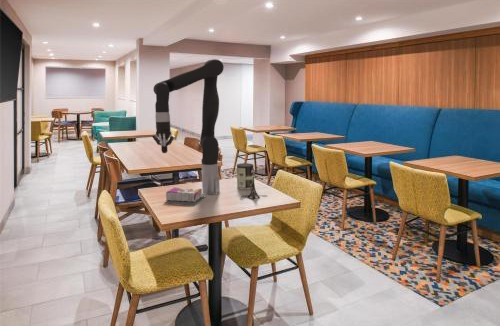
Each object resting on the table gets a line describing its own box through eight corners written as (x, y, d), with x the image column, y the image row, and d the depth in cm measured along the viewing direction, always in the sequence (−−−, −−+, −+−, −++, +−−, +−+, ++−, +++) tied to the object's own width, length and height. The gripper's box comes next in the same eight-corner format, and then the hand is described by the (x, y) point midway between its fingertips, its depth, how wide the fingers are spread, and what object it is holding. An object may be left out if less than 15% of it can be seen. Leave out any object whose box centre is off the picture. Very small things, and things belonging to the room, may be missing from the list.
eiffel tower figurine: (268, 196, 210) (268, 173, 208) (267, 201, 200) (267, 177, 198) (241, 195, 212) (241, 172, 209) (239, 200, 202) (239, 176, 199)
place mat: (206, 197, 207) (206, 196, 207) (194, 205, 192) (194, 204, 192) (178, 195, 212) (178, 194, 212) (164, 203, 197) (164, 202, 197)
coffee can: (253, 185, 234) (253, 163, 231) (253, 189, 224) (253, 166, 221) (237, 185, 234) (236, 163, 231) (236, 189, 224) (236, 166, 221)
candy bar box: (173, 186, 209) (201, 188, 206) (174, 195, 210) (202, 197, 207) (165, 191, 198) (195, 193, 195) (166, 200, 199) (195, 202, 196)
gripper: (177, 120, 200) (178, 152, 203) (155, 120, 204) (157, 151, 207) (170, 121, 193) (172, 154, 196) (148, 121, 197) (150, 153, 200)
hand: (164, 152), depth 202 cm, fingers closed
